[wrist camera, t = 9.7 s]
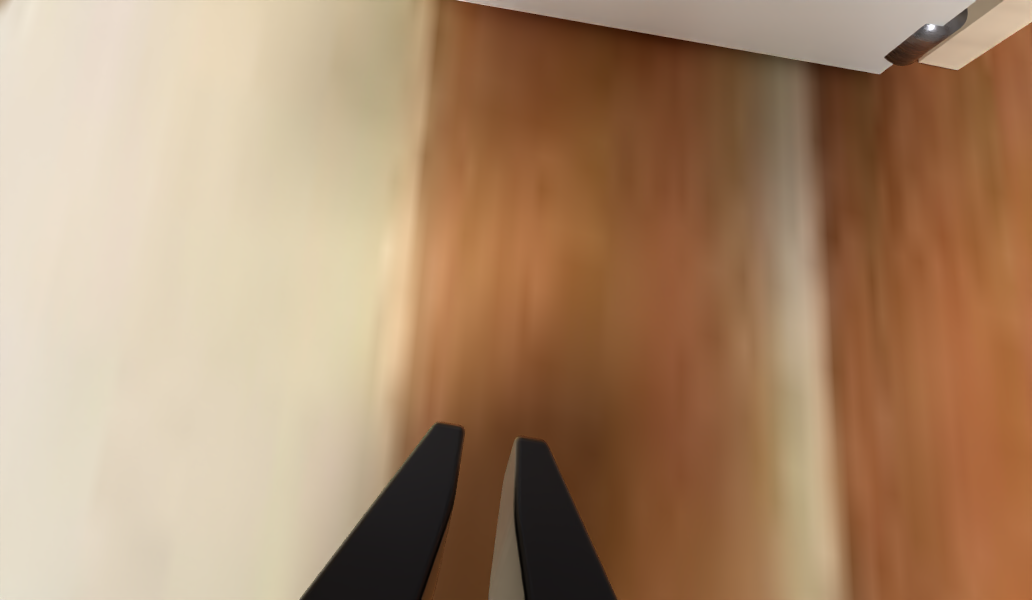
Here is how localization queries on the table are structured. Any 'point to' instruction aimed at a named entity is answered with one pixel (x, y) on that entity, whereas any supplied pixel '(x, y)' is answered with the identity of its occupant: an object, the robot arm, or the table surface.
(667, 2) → the cabinet door
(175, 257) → the table surface
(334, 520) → the table surface
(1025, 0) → the cabinet corner
